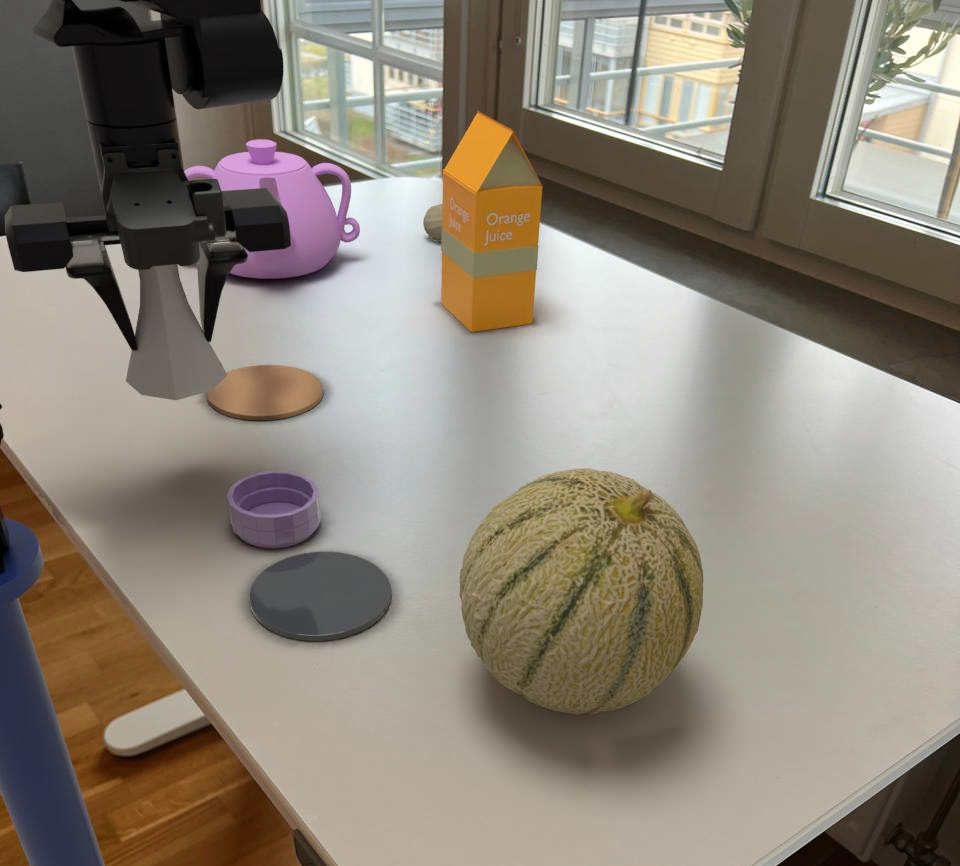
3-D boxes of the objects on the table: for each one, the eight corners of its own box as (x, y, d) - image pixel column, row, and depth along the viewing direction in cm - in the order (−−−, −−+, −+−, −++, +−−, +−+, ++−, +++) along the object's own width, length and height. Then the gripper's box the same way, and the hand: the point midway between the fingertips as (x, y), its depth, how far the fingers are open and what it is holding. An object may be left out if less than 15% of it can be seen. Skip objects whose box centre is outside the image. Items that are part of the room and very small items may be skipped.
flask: (244, 377, 78) (228, 248, 72) (176, 411, 73) (152, 276, 67) (178, 354, 81) (157, 228, 75) (109, 385, 76) (79, 253, 70)
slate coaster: (266, 654, 66) (265, 648, 65) (237, 570, 73) (236, 565, 73) (409, 624, 69) (409, 618, 69) (368, 546, 76) (368, 541, 76)
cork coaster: (217, 427, 90) (217, 422, 89) (198, 377, 97) (197, 372, 97) (336, 411, 93) (336, 406, 93) (308, 363, 101) (307, 359, 100)
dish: (241, 557, 74) (236, 523, 72) (225, 511, 79) (220, 478, 77) (330, 541, 76) (327, 508, 74) (308, 497, 81) (306, 465, 79)
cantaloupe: (457, 609, 70) (462, 416, 61) (662, 613, 71) (699, 422, 61) (456, 762, 59) (463, 554, 49) (701, 765, 59) (754, 560, 50)
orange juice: (470, 332, 108) (477, 132, 96) (439, 303, 115) (442, 111, 102) (534, 323, 111) (549, 127, 98) (500, 295, 117) (510, 108, 104)
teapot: (181, 308, 111) (161, 175, 102) (180, 243, 127) (162, 125, 118) (377, 298, 115) (373, 171, 106) (351, 237, 131) (346, 122, 122)
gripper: (-22, 158, 57) (45, 407, 67) (299, 140, 62) (316, 373, 72) (-22, 113, 65) (38, 342, 75) (263, 101, 70) (283, 316, 80)
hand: (170, 344), depth 75 cm, fingers closed on flask, 5 cm apart
